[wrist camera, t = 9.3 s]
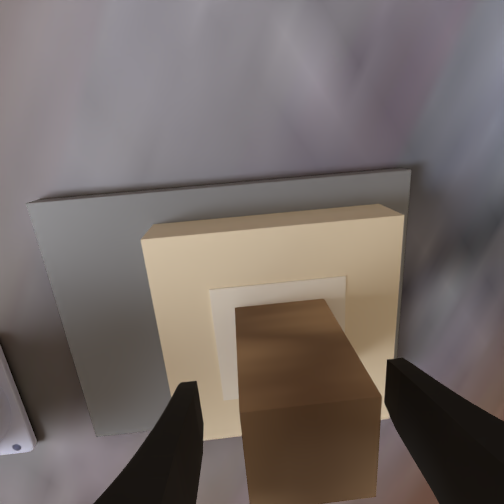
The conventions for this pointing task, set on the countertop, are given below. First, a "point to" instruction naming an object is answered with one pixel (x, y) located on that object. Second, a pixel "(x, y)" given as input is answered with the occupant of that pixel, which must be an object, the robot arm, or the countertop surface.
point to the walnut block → (304, 406)
